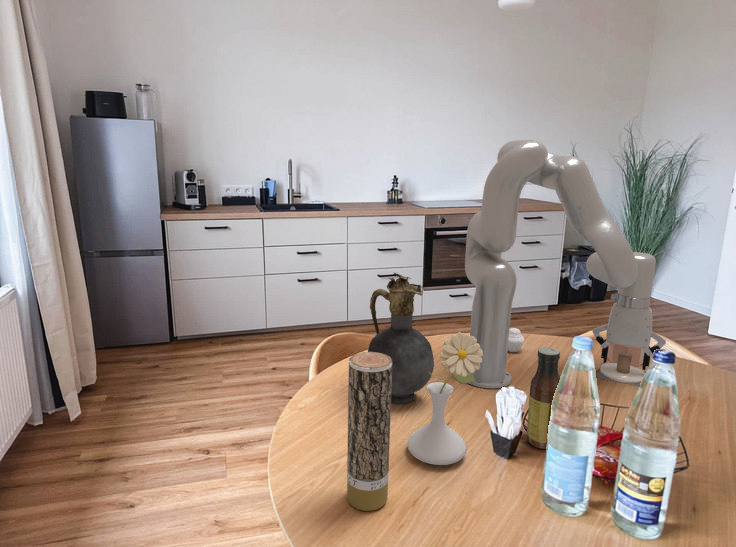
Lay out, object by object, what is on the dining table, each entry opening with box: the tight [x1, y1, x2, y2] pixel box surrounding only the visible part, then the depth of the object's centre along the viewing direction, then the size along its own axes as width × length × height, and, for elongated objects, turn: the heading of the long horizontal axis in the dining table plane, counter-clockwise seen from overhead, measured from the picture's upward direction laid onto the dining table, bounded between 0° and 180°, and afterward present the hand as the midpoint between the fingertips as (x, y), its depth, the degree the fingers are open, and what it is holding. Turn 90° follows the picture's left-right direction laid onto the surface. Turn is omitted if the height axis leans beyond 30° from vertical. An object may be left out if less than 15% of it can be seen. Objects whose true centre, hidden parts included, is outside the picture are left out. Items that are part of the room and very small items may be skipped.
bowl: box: [607, 343, 645, 367], centre depth 148 cm, size 9×9×6 cm
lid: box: [599, 353, 645, 385], centre depth 138 cm, size 11×11×6 cm
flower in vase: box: [406, 331, 483, 466], centre depth 99 cm, size 13×11×25 cm
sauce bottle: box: [526, 346, 561, 450], centre depth 104 cm, size 6×6×20 cm
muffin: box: [507, 327, 525, 353], centre depth 154 cm, size 6×6×7 cm
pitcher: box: [367, 271, 435, 405], centre depth 123 cm, size 11×19×30 cm, turn 37°
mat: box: [597, 362, 647, 387], centre depth 139 cm, size 11×11×1 cm
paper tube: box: [346, 351, 392, 512], centre depth 85 cm, size 7×7×25 cm
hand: (624, 364), depth 138 cm, fingers open, 8 cm apart
